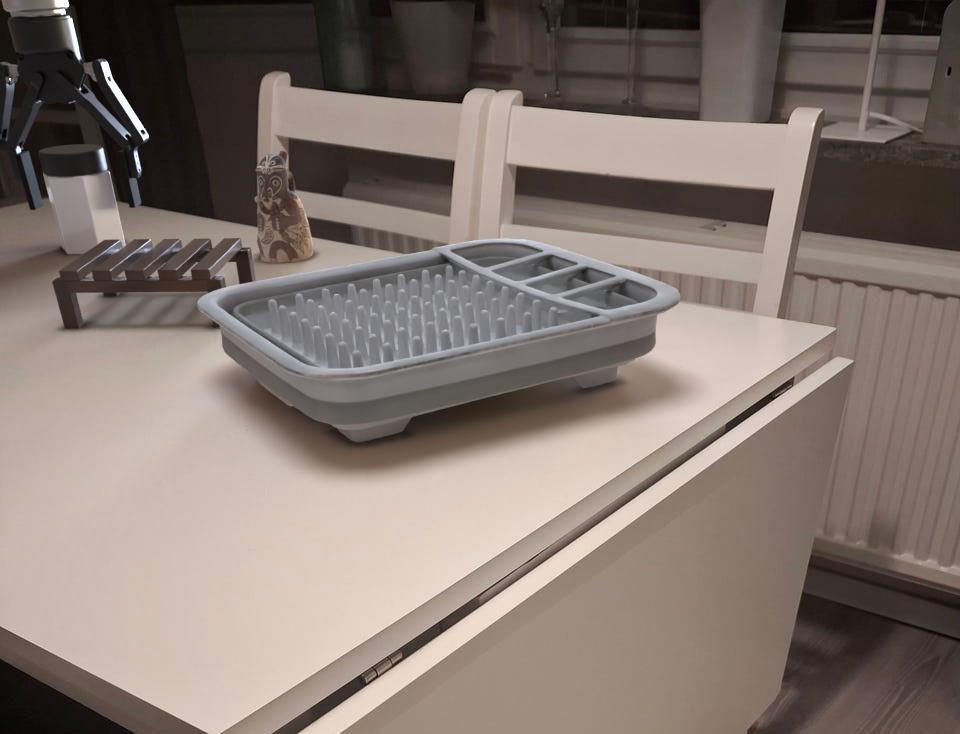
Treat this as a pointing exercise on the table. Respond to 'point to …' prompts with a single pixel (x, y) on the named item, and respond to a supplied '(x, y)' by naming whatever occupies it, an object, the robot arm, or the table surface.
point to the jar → (81, 196)
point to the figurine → (280, 214)
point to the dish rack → (436, 329)
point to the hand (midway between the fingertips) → (86, 207)
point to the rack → (148, 270)
